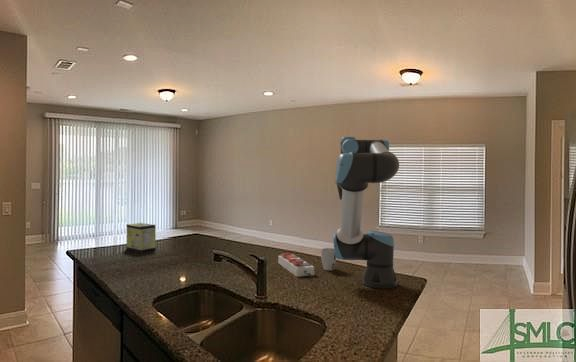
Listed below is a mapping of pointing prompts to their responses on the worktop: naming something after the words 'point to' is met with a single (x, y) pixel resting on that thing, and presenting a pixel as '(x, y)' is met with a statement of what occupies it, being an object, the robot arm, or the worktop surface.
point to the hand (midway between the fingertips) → (347, 213)
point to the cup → (328, 258)
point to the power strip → (296, 266)
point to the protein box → (141, 237)
